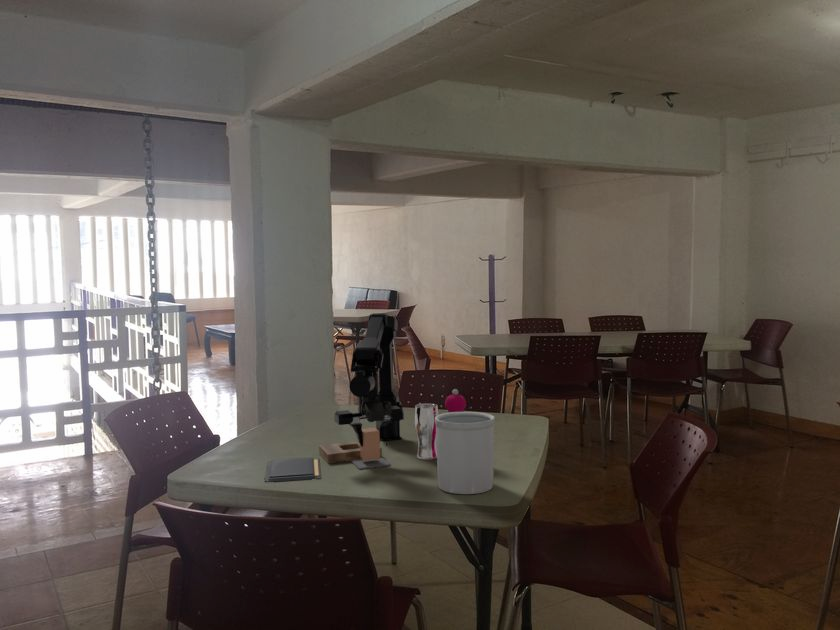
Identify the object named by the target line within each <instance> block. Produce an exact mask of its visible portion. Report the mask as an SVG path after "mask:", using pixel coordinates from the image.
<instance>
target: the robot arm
mask: <svg viewBox="0 0 840 630" xmlns="http://www.w3.org/2000/svg"><path fill="white" fill-rule="evenodd" d="M367 320H368V322H367V323H368V325H367V328H366V331H365V335H364V336H363V337H364V338H363V339H362V340H361V341H359V342H358V343H357V344H356V346H355V349H354V350H353V352H352V357H351V364H350V373H353V372H354V373H355V374H356V375H355V376H354V377H352V378H351V380H350V381H349V385H348V386H349V387H348V388H349V391H350V392H351V394H352V395H354V396H355V397H358V406H357V411H358V412H351V411H350V410H348V409H347V410H346V409H345V410H337V411H335V412H334V415H333V417H334V422H335V423H337V424H338V426H344V425H349V426H350V427H352V429H353V431H354V433H355V436H356V438H357V440H358V441H359V443H360V446H361V447H363V437H362V429H363V424H362V423H361V420H365V419H366V421H368V422H369V423H374V422H375V428H376V429H377V430H379V435H380V441H383V442H385V441H394V440H401V439H403V437H402V436H401V425H400V421H402V420H405V416H404V415H405V414H404V407H403V405H402V402H401V401H400V397H399V393H398V392H397V390H396V388H394V370H393V369H394V366H393V347H392V345H393V344H392V343H393V341H394V339H395V337H396V336H397V331H398V327H399V323H398V322H399V321H398V319H397V318H396V317H395V316H391V315H389V314H387V313H383V312H381V313H380V312H379V313H374V312H373V313H371V314H369V316H368V319H367Z"/></svg>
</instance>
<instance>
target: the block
mask: <svg viewBox="0 0 840 630" xmlns="http://www.w3.org/2000/svg"><path fill="white" fill-rule="evenodd" d="M362 437H363V447H361V446H360V454H361V458H362V459H363V460H364V461H369V460H377V459H380V447H381V440H380V435H379V430H377V429H376V427H368V428H362Z"/></svg>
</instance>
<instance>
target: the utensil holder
mask: <svg viewBox="0 0 840 630" xmlns="http://www.w3.org/2000/svg"><path fill="white" fill-rule="evenodd" d="M495 418H496V417H495V416H494V415H493V414H490V413H486V412H477V411H464V412H450V413H447V412H445V413H444V412H443V413H441V414H438V415H437V416H436V417H435V424H436V449H437V458H436V463H437V464H436V465H437V466H436V467H437V468H436V469H437V484H438V488H439V489H440V490H441V491H443V492H447V493H450V494H454V495H473V494H474V495H475V494H482V493H486V492H489V491H490V490H492V489H493V487H494V470H495V469H494V466H495V465H494V464H495V461H494V459H495V457H494V456H495V451H494V450H495V448H494V447H495V446H494V444H495V441H494V440H495V434H494V433H495V427H494V425H495V423H496V420H495Z"/></svg>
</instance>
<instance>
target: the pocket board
mask: <svg viewBox="0 0 840 630" xmlns="http://www.w3.org/2000/svg"><path fill="white" fill-rule="evenodd" d="M382 449H383V448H382V447H381V446H380V456H381V457H382V458H383V453H382V452H383V451H382ZM318 450H319V451H318V453H319V454H318V455H319V456H322V457H321V458H322V459H323V461H325V462H326V463H327V464H334V463H335V464H336V462H337V463H344V461H345V462H351V460H354V459H362V458H361V454H360V443H359V441H357V440H355V441H349V442H348V441H347V442H339V443H332V444H331V443H330V444H321V445H318Z"/></svg>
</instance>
